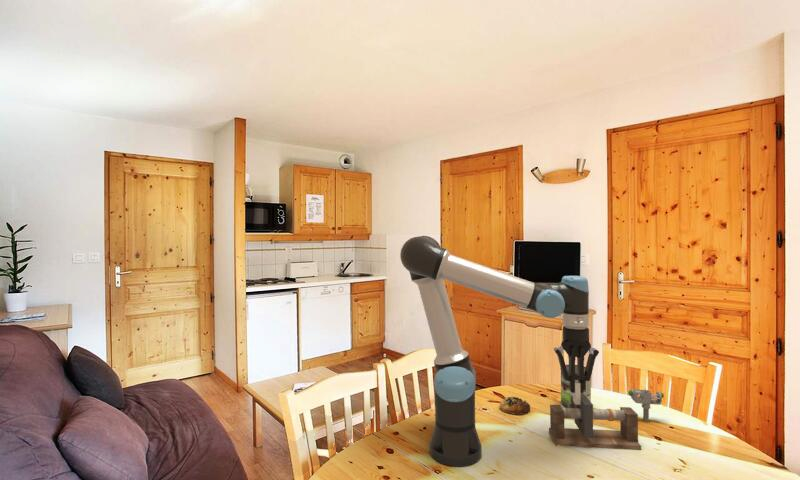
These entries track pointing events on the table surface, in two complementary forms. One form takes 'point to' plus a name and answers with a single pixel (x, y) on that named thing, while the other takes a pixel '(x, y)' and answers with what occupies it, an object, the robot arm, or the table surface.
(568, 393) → the coffee can
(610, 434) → the pipe rig
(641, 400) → the mechanical component
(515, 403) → the bread roll
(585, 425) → the dark grey square plate
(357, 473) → the table surface
